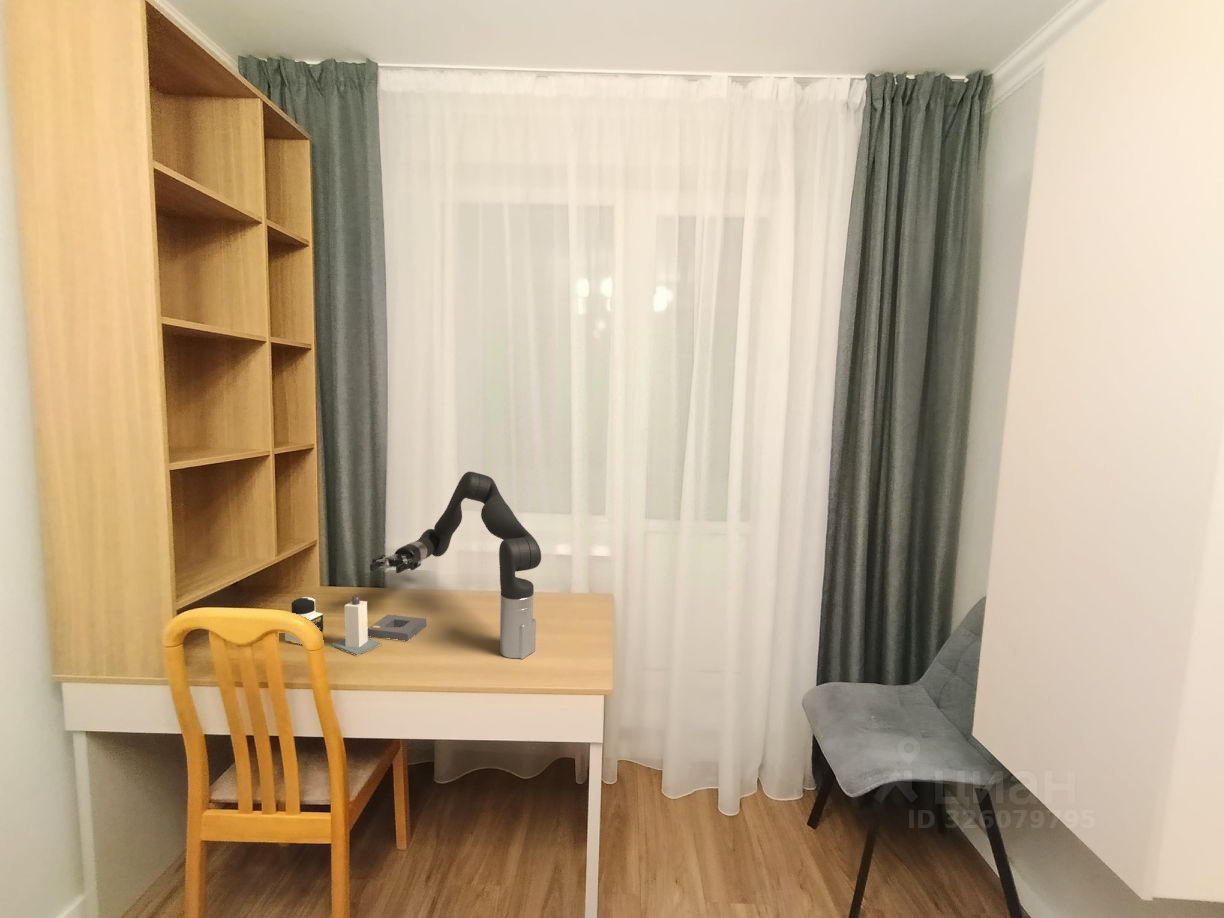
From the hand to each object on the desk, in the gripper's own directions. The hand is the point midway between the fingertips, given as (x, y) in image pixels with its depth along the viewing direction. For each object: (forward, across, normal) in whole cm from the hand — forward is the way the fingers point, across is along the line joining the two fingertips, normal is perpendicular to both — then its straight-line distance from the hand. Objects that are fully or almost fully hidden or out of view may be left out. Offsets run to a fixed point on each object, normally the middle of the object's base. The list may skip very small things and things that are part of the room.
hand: (384, 569), depth 171 cm
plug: (+13, -1, +18) cm, 22 cm away
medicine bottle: (+13, -18, +18) cm, 29 cm away
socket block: (+2, +5, +18) cm, 19 cm away
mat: (+13, -1, +18) cm, 23 cm away
